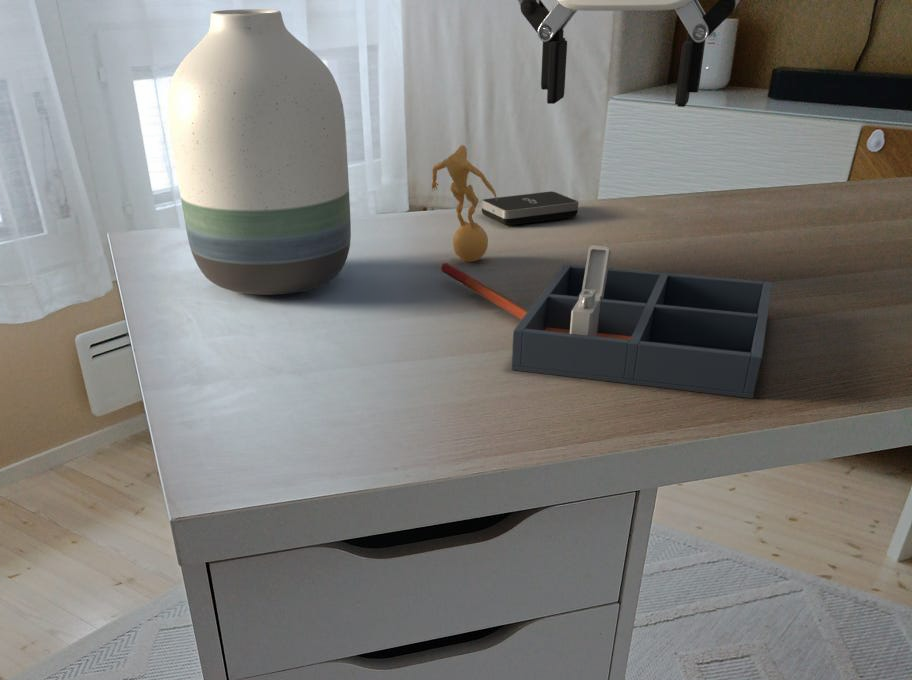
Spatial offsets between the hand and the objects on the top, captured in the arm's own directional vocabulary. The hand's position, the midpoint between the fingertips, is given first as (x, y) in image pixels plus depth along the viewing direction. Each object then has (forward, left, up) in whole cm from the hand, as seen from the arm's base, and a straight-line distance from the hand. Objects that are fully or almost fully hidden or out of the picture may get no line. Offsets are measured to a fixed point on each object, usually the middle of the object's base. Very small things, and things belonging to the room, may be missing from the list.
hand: (617, 102), depth 70 cm
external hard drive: (+17, -45, -20) cm, 52 cm away
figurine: (+19, -23, -20) cm, 35 cm away
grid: (-4, -4, -19) cm, 20 cm away
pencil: (+12, -9, -19) cm, 24 cm away
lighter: (0, +1, -19) cm, 19 cm away
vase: (+36, -10, -20) cm, 42 cm away
